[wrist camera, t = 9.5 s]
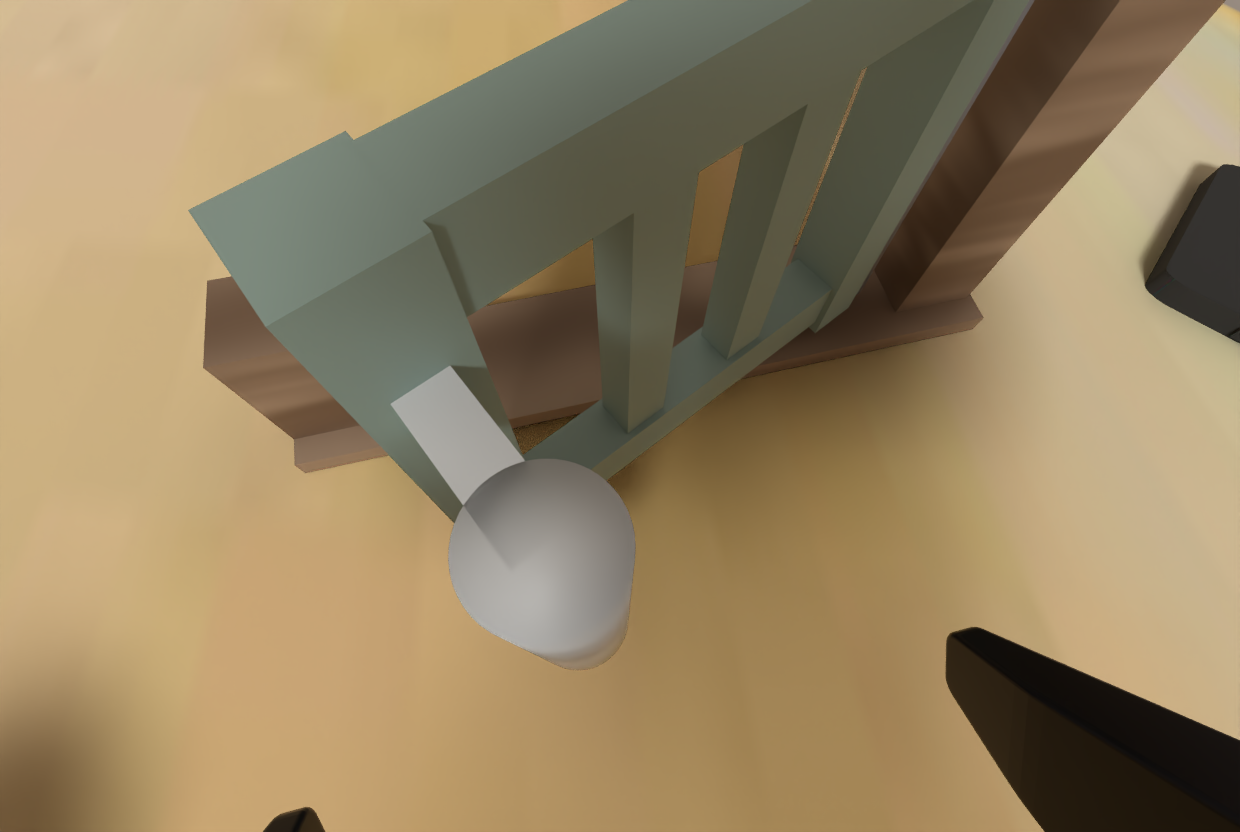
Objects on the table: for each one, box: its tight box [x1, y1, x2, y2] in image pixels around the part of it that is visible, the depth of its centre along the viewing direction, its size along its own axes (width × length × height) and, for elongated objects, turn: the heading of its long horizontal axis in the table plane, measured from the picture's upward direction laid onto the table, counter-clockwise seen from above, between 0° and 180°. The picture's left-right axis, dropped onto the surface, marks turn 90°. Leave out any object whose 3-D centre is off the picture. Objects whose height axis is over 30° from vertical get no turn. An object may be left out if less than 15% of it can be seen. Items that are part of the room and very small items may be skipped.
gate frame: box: [203, 0, 1225, 473], centre depth 17 cm, size 5×26×17 cm, turn 104°
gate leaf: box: [188, 0, 1035, 670], centre depth 15 cm, size 6×18×14 cm, turn 129°
